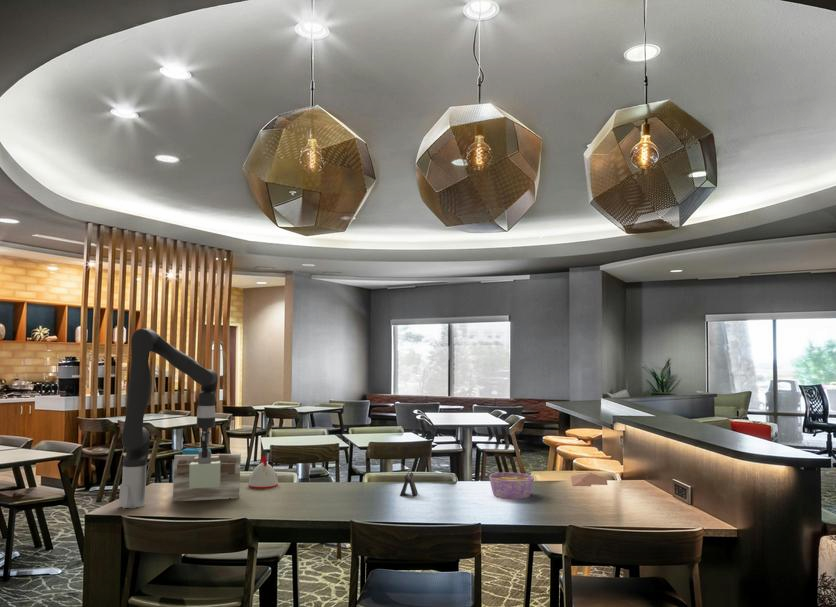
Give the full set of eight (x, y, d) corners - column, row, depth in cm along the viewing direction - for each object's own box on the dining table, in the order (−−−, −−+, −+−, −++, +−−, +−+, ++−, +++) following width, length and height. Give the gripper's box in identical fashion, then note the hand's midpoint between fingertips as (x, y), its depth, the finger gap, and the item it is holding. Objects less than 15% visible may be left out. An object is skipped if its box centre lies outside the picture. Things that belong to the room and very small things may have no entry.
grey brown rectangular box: (238, 502, 279) (239, 456, 281) (170, 504, 274) (172, 457, 276) (240, 496, 292) (241, 451, 293) (175, 498, 287) (177, 452, 288)
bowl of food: (480, 500, 289) (480, 474, 290) (516, 496, 298) (516, 471, 299) (506, 510, 271) (506, 482, 272) (543, 505, 280) (543, 478, 281)
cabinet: (218, 487, 272) (219, 451, 273) (189, 488, 270) (189, 452, 271) (221, 481, 282) (221, 447, 284) (193, 483, 280) (193, 448, 281)
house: (612, 485, 327) (612, 469, 328) (617, 499, 295) (616, 481, 296) (566, 482, 332) (566, 466, 333) (566, 496, 300) (566, 478, 301)
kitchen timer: (252, 491, 302) (253, 459, 303) (245, 485, 314) (246, 454, 315) (281, 488, 308) (282, 457, 309) (273, 483, 320) (274, 453, 322)
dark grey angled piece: (397, 501, 285) (398, 474, 286) (400, 498, 291) (400, 471, 292) (417, 502, 283) (418, 475, 284) (419, 499, 289) (420, 472, 290)
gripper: (213, 417, 268) (211, 459, 267) (217, 414, 282) (215, 454, 280) (194, 418, 267) (193, 460, 266) (199, 414, 280) (197, 454, 279)
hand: (204, 457), depth 273 cm, fingers closed
